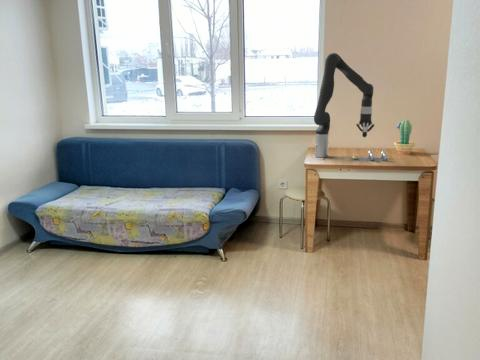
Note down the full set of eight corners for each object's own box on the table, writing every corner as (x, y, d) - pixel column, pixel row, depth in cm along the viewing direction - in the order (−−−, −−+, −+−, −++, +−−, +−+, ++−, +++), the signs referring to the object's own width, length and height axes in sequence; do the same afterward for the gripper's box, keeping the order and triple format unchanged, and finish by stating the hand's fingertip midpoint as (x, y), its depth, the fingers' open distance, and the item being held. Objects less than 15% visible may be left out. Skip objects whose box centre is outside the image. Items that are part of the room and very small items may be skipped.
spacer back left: (368, 158, 322) (369, 151, 320) (368, 157, 325) (368, 150, 323) (372, 158, 321) (373, 151, 320) (372, 157, 324) (372, 150, 323)
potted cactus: (406, 150, 347) (408, 118, 340) (419, 154, 332) (421, 121, 326) (389, 152, 343) (391, 119, 336) (401, 156, 328) (403, 122, 322)
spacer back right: (381, 158, 320) (381, 151, 319) (380, 157, 323) (381, 151, 322) (385, 158, 320) (386, 151, 319) (385, 157, 323) (385, 151, 321)
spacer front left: (370, 161, 314) (370, 154, 312) (369, 160, 317) (369, 153, 315) (374, 161, 313) (374, 154, 312) (373, 160, 316) (374, 153, 315)
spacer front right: (383, 161, 312) (383, 154, 311) (382, 160, 315) (383, 153, 314) (387, 161, 312) (388, 154, 311) (387, 160, 315) (387, 153, 313)
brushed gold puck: (352, 159, 319) (352, 157, 318) (351, 158, 323) (352, 156, 322) (358, 159, 318) (358, 157, 318) (357, 158, 322) (357, 156, 322)
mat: (350, 161, 316) (350, 161, 316) (349, 157, 327) (349, 157, 327) (387, 161, 312) (387, 161, 312) (384, 158, 323) (384, 157, 323)
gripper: (356, 113, 308) (355, 138, 313) (376, 113, 306) (374, 138, 311) (355, 112, 315) (354, 136, 320) (375, 112, 314) (373, 136, 318)
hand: (364, 137), depth 316 cm, fingers closed
